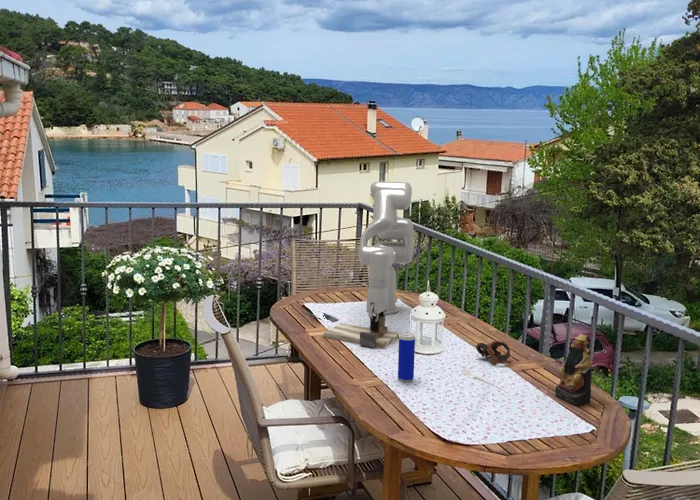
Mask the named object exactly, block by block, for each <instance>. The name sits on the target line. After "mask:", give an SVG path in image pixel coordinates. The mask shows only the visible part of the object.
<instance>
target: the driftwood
mask: <svg viewBox="0 0 700 500" xmlns="http://www.w3.org/2000/svg"><path fill="white" fill-rule="evenodd" d="M301 312H303V313H305V314H307V315H309V316H312V317H314V318H316V317H315V316H316V315H315V314H314V313H311V312H309V311H306V310H304V309H302V310H301ZM322 313H323V314H324V315H323V317H324V316H325V318H326V319H327V320H330V321H333V322H335V321H340V320H339V318H337V317H335V316H333V315H330V314H327V313H326V312H322ZM314 315H315V316H314ZM325 318H324V319H325Z"/></svg>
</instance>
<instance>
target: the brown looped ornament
mask: <svg viewBox="0 0 700 500" xmlns="http://www.w3.org/2000/svg"><path fill="white" fill-rule="evenodd" d="M499 347H504V349H505V350H506V351H507V352H506V353H503V354H502V351H499V350H497V349H498V348H499ZM475 349H476V351H477V353H479V354H480V356H481V357H482V358H487V357H491V358H492V359H491V361H490V364H491V365H493V366H495V365H497V364H500V363H503V362H506V361H508V359H509V358H510V357H511V351H510V347H509V345H508V344H507V343H505V342H504V341H500V340H492V341H491V342H490V343H488V344H486V343H484V342H479V343H477V345H476V347H475Z"/></svg>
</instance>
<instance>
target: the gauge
mask: <svg viewBox="0 0 700 500" xmlns="http://www.w3.org/2000/svg"><path fill="white" fill-rule="evenodd" d="M374 316H375V317H376V315H374ZM378 321H379V324H378V331H377V332H376V331H371V332H369V333H368V332H360V344H359V345H360V346H364V347H369V348H377V347H376V339H377V338H378V337H380V336H381V335H383V334H385V333H386V332H389V329H388V327H389V326H386V316H385V317H381V316H378Z"/></svg>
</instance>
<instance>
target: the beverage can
mask: <svg viewBox="0 0 700 500" xmlns="http://www.w3.org/2000/svg"><path fill="white" fill-rule="evenodd" d="M415 348H416V336H415V334H413V333H412V332H402V333H399V339H398V358H397V359H398V362H397V378H398V380H399V381H401V382H404V383H406V382H412V381H413V380H414V378H415V375H414V373H415V353H416V352H415V350H416V349H415Z"/></svg>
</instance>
